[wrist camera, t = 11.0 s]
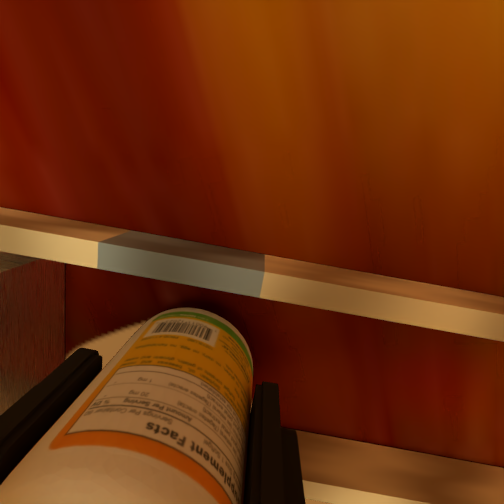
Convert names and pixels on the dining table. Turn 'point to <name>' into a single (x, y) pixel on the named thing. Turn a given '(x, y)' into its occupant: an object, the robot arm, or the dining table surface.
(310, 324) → the dining table surface
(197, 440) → the supplement bottle
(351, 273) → the guide channel
